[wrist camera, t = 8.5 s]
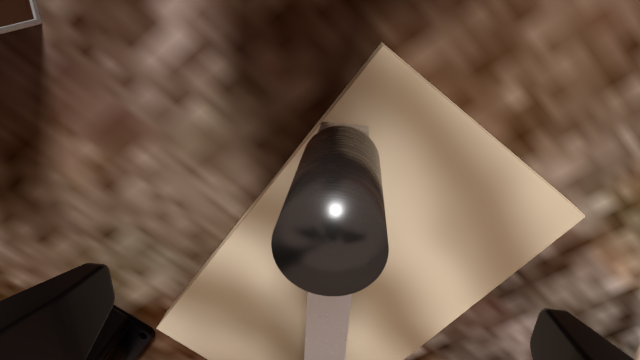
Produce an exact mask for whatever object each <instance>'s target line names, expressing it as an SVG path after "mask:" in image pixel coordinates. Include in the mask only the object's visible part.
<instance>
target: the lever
mask: <svg viewBox="0 0 640 360" xmlns="http://www.w3.org/2000/svg"><path fill="white" fill-rule="evenodd" d="M271 247H272V254H273V258H274V260H275V263H276V265H277V266H278V268H279V270H280V271H281V272H282V274H283V275H284V276H285V277H286V278H287V279H288V280H289V281H290V282H292V283H293V284H294V285H296V286H297V287H299V288H301V289H303V290H305V291H307V292H308V298H307V316H306V333H305V351H304V360H345V352H346V344H347V335H348V326H349V317H350V308H351V299H352V294H353V293H356V292H358V291H361V290H363V289H364V288H366V287H368V286H369V285H370V284H372V283H373V282H374V281H375V280H376V279H377V278H378V277H379V276H380V274H381V273H382V271H383V270H384V268H385V265H386V263H387V259H388V253H389V245H388V235H387V226H386V216H385V206H384V197H383V187H382V178H381V168H380V159H379V153H378V150H377V148H376V146H375V144H374V143H373V141H372V140H371V139H370V138H369V126H368V125H356V124H344V123H332V122H321V124H320V127H319V130H318V133H316V134H315V135H314V136H313V137H312V138H311V139H310V140H309V142H308V143H307V145H306V147H305V149H304V152H303V155H302V157H301V160H300V162H299V165H298V168H297V170H296V173H295V176H294V178H293V181H292V183H291V186H290V189H289V191H288V194H287V196H286V199H285V202H284V204H283V207H282V210H281V212H280V215H279V217H278V220H277V223H276V225H275V228H274V230H273V234H272V241H271Z"/></svg>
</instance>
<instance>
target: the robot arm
mask: <svg viewBox="0 0 640 360" xmlns="http://www.w3.org/2000/svg"><path fill="white" fill-rule="evenodd" d="M114 299H115V295H114V289H113V285H112V280H111V275H110V271H109V268H108V267H107V266H106V265H104V264H95V263H86V264H83V265H81V266H79V267H77V268H74V269H72V270H70V271H67V272H65V273H63V274H61V275H58V276H56V277H54V278H52V279H49V280H47V281H45V282H42V283H40V284H38V285H36V286H33V287H31V288H29V289H27V290H24V291H22V292H20V293H17V294H15V295H13V296H11V297H8V298H6V299H4V300H2V301H0V360H135V358H136V357H137V356H138V355H139V353H140V352H141V351H142V350H143V348H144V347H145V346H146V345H147V343H148V342H149V341H150V340H151V338H152V336H153V334H154V331H153V330H152V328H150V327H149V326H147V325H146V324H144V323H142V322H141V321H139V320H137V319H136V318H134V317H132V316H131V315H129V314H127V313H126V312H124V311H122V310H121V309H119V308H117V307H116V306H114V305H113V304H114ZM530 348H531V353H532V357H533V360H634V359H633V358H631V357H630V356H629V355H627V354H626V353H624V352H623V351H622V350H620V349H619V348H617V347H616V346H615V345H613V344H612V343H611V342H609V341H608V340H606V339H605V338H604V337H602V336H601V335H599V334H598V333H597V332H595V331H594V330H592V329H591V328H590V327H588V326H587V325H586V324H584V323H583V322H581V321H580V320H579V319H577V318H576V317H574V316H573V315H572V314H570V313H569V312H567V311H565V310H562V309H552V308H544V309H542V310H541V311H540V313H539V316H538V319H537V321H536V324H535V327H534V330H533V333H532V336H531V341H530Z"/></svg>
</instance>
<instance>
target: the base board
mask: <svg viewBox="0 0 640 360" xmlns="http://www.w3.org/2000/svg"><path fill="white" fill-rule="evenodd" d="M321 122H332V123H344V124H356V125H368V126H369V138H370V139H371V140H372V141H373V143H374V144H375V146H376V148H377V150H378V153H379V159H380V168H381V178H382V187H383V197H384V206H385V216H386V226H387V235H388V245H389V253H388V259H387V263H386V265H385V268H384V270H383V271H382V273H381V274H380V276H379V277H378V278H377V279H376V280H375V281H374V282H373V283H372V284H370V285H369V286H368V287H366V288H364V289H363V290H361V291H358V292H356V293H353V294H352V299H351V308H350V317H349V326H348V335H347V344H346V352H345V360H404V359H405V358H407V357H408V356H409V355H410V354H412V353H413V352H414V351H415V350H417V349H418V348H419V347H421V346H422V345H423V344H424V343H426V342H427V341H428V340H429V339H431V338H432V337H433V336H435V335H436V334H437V333H438V332H440V331H441V330H442V329H443V328H445V327H446V326H447V325H448V324H450V323H451V322H452V321H454V320H455V319H456V318H457V317H459V316H460V315H461V314H462V313H464V312H465V311H466V310H468V309H469V308H470V307H471V306H473V305H474V304H475V303H476V302H478V301H479V300H480V299H482V298H483V297H484V296H485V295H487V294H488V293H489V292H490V291H492V290H493V289H494V288H495V287H497V286H498V285H499V284H501V283H502V282H503V281H504V280H506V279H507V278H508V277H509V276H511V275H512V274H513V273H515V272H516V271H517V270H518V269H520V268H521V267H522V266H523V265H525V264H526V263H527V262H529V261H530V260H531V259H532V258H534V257H535V256H536V255H537V254H539V253H540V252H541V251H542V250H544V249H545V248H546V247H548V246H549V245H550V244H551V243H553V242H554V241H555V240H556V239H558V238H559V237H560V236H562V235H563V234H564V233H565V232H567V231H568V230H569V229H570V228H572V227H573V226H574V225H576V224H577V223H578V222H579V221H581V220H582V219H583V218H584V217H586V216H585V215H584V214H583V213H582V212H581V211H580V210H579V209H578V208H577V207H576V206H574V205H573V204H572V203H571V202H570V201H569V200H568V199H567V198H566V197H565V196H563V195H562V194H561V193H560V192H559V191H557V190H556V189H555V188H554V187H553V186H551V185H550V184H549V183H548V182H547V181H546V180H544V179H543V178H542V177H541V176H540V175H538V174H537V173H536V172H535V171H534V170H533V169H531V168H530V167H529V166H528V165H527V164H525V163H524V162H523V161H522V160H521V159H520V158H518V157H517V156H516V155H515V154H514V153H512V152H511V151H510V150H509V149H508V148H506V147H505V146H504V145H503V144H502V143H501V142H499V141H498V140H497V139H496V138H495V137H493V136H492V135H491V134H490V133H489V132H488V131H486V130H485V129H484V128H483V127H482V126H480V125H479V124H478V123H477V122H476V121H475V120H473V119H472V118H471V117H470V116H469V115H467V114H466V113H465V112H464V111H463V110H461V109H460V108H459V107H458V106H457V105H456V104H454V103H453V102H452V101H451V100H450V99H448V98H447V97H446V96H445V95H444V94H443V93H441V92H440V91H439V90H438V89H437V88H435V87H434V86H433V85H432V84H431V83H430V82H428V81H427V80H426V79H425V78H424V77H422V76H421V75H420V74H419V73H418V72H416V71H415V70H414V69H413V68H412V67H411V66H409V65H408V64H407V63H406V62H405V61H403V60H402V59H401V58H400V57H399V56H398V55H396V54H395V53H394V52H393V51H392V50H390V49H389V48H388V47H387V46H386V45H385V44H383V43H382V42H381V43H380V45H379V46H378V47H377V48H376V50H375V51H374V52H373V53H372V55H371V56H370V57H369V58H368V60H367V61H366V62H365V63H364V65H363V66H362V67H361V68H360V70H359V71H358V72H357V73H356V75H355V76H354V77H353V78H352V80H351V81H350V82H349V83H348V85H347V86H346V87H345V88H344V90H343V91H342V92H341V93H340V95H339V96H338V97H337V98H336V100H335V101H334V102H333V104H332V105H331V106H330V107H329V109H328V110H327V111H326V112H325V114H324V115H323V116H322V117H321V119H320V120H319V121H318V122H317V124H316V125H315V126H314V127H313V129H312V130H311V131H310V132H309V134H308V135H307V136H306V137H305V139H304V140H303V141H302V142H301V144H300V145H299V146H298V147H297V149H296V150H295V151H294V152H293V154H292V155H291V156H290V157H289V159H288V160H287V161H286V162H285V164H284V165H283V166H282V167H281V169H280V170H279V171H278V173H277V174H276V175H275V176H274V178H273V179H272V180H271V181H270V183H269V184H268V185H267V186H266V188H265V189H264V190H263V191H262V193H261V194H260V195H259V196H258V198H257V199H256V200H255V201H254V203H253V204H252V205H251V206H250V208H249V209H248V210H247V211H246V213H245V214H244V215H243V216H242V218H241V219H240V220H239V221H238V223H237V224H236V225H235V226H234V228H233V229H232V230H231V231H230V233H229V234H228V235H227V236H226V238H225V239H224V240H223V242H222V243H221V244H220V245H219V247H218V248H217V249H216V250H215V252H214V253H213V254H212V255H211V257H210V258H209V259H208V260H207V262H206V263H205V264H204V265H203V267H202V268H201V269H200V270H199V272H198V273H197V274H196V275H195V277H194V278H193V279H192V280H191V282H190V283H189V284H188V285H187V287H186V288H185V289H184V290H183V292H182V293H181V294H180V295H179V297H178V298H177V299H176V300H175V302H174V303H173V304H172V305H171V307H170V308H169V309H168V311H167V312H166V314H165V315H164V317H163V319H162V320H161V322H160V323H159V325H158V327H157V328H156V329H158V330H160V331H161V332H163V333H165V334H166V335H168V336H170V337H171V338H173V339H175V340H176V341H178V342H180V343H181V344H183V345H185V346H186V347H188V348H190V349H191V350H193V351H194V352H196V353H198V354H199V355H201V356H203V357H204V358H206V359H208V360H304V351H305V333H306V316H307V298H308V292H307V291H305V290H303V289H301V288H299V287H297V286H296V285H294V284H293V283H292V282H290V281H289V280H288V279H287V278H286V277H285V276H284V275H283V274H282V272H281V271H280V270H279V268H278V266H277V265H276V263H275V260H274V258H273V254H272V247H271V241H272V234H273V230H274V228H275V225H276V223H277V220H278V217H279V215H280V212H281V210H282V207H283V204H284V202H285V199H286V196H287V194H288V191H289V189H290V186H291V183H292V181H293V178H294V176H295V173H296V170H297V168H298V165H299V162H300V160H301V157H302V155H303V152H304V149H305V147H306V145H307V143H308V142H309V140H310V139H311V138H312V137H313V136H314V135H315V134H316V133H318V130H319V127H320V124H321Z"/></svg>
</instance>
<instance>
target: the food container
mask: <svg viewBox="0 0 640 360" xmlns="http://www.w3.org/2000/svg"><path fill="white" fill-rule="evenodd" d="M40 24H42V23H41V19H40V15H39V11H38V6H37V2H36V0H0V34H3V33H7V32H11V31H15V30H19V29H23V28H28V27H32V26H36V25H40Z"/></svg>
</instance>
